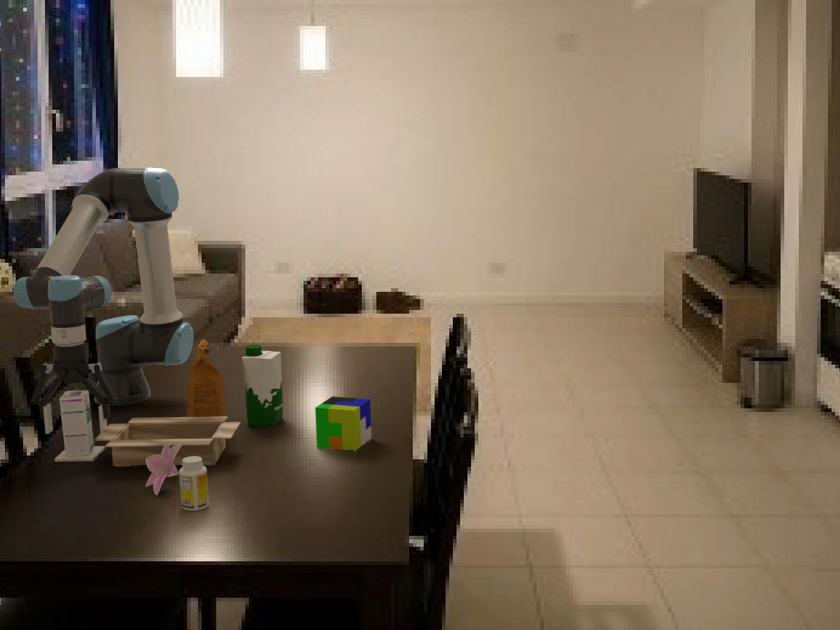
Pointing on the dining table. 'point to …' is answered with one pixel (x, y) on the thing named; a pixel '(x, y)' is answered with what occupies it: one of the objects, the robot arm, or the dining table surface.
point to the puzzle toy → (343, 423)
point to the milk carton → (263, 386)
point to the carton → (168, 438)
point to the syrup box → (77, 423)
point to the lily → (162, 466)
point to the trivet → (91, 457)
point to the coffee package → (205, 387)
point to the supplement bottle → (193, 484)
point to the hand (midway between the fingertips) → (76, 431)
